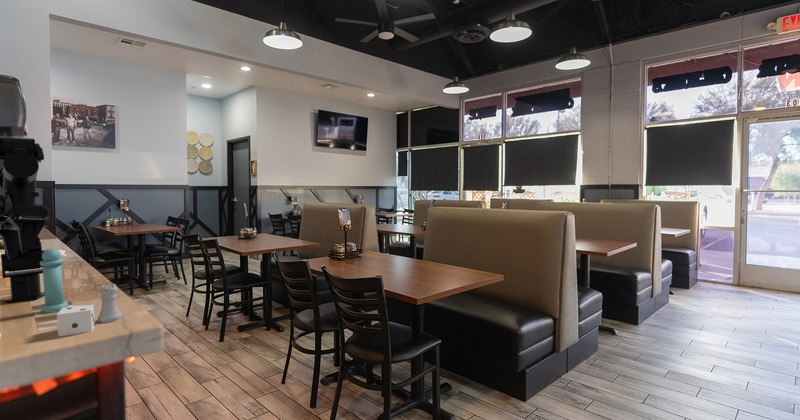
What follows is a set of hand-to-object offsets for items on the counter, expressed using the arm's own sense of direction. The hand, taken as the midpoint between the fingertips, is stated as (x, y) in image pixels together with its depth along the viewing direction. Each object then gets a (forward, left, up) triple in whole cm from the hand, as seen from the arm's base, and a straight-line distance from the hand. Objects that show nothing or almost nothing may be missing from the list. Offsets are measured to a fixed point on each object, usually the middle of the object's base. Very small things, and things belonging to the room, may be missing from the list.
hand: (18, 255), depth 94 cm
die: (+23, +18, -13) cm, 32 cm away
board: (+8, +9, -13) cm, 18 cm away
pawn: (+5, +8, -12) cm, 16 cm away
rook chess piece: (+18, +22, -13) cm, 31 cm away
